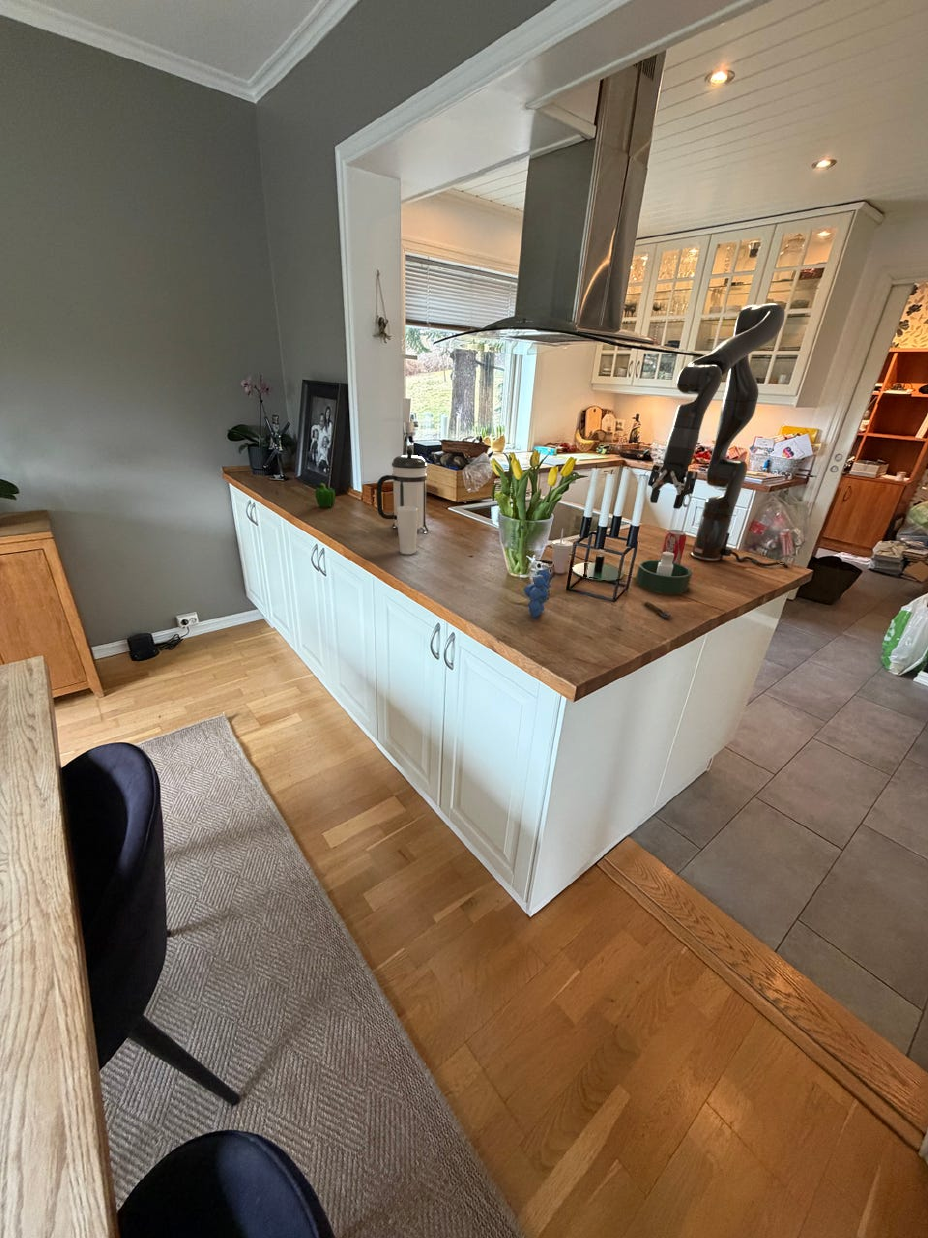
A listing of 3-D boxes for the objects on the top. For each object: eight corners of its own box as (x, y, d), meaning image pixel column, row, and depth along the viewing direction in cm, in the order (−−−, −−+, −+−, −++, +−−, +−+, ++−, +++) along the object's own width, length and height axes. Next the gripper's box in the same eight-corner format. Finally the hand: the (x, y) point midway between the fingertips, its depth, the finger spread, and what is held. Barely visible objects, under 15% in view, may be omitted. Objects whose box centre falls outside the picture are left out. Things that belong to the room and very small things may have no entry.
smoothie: (544, 570, 153) (549, 526, 147) (562, 568, 155) (567, 525, 149) (554, 577, 148) (560, 532, 141) (572, 575, 150) (579, 531, 143)
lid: (610, 565, 159) (613, 547, 157) (632, 583, 146) (636, 564, 143) (565, 566, 157) (567, 547, 154) (582, 584, 143) (585, 564, 141)
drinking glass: (394, 554, 161) (393, 509, 154) (403, 548, 167) (402, 504, 160) (412, 556, 159) (412, 511, 152) (421, 551, 165) (421, 507, 158)
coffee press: (401, 522, 196) (400, 444, 183) (436, 528, 190) (437, 448, 177) (377, 532, 182) (373, 449, 169) (413, 539, 176) (412, 453, 163)
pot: (670, 576, 152) (674, 559, 150) (697, 594, 140) (702, 576, 137) (627, 576, 150) (630, 560, 148) (650, 595, 137) (654, 577, 135)
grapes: (527, 602, 130) (532, 559, 125) (552, 607, 128) (558, 564, 123) (514, 619, 121) (518, 574, 115) (540, 624, 118) (545, 579, 113)
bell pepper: (338, 508, 213) (336, 484, 209) (319, 509, 209) (317, 486, 205) (332, 503, 220) (331, 481, 215) (314, 505, 216) (312, 482, 211)
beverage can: (680, 571, 157) (689, 535, 151) (660, 569, 158) (668, 533, 152) (676, 565, 162) (685, 530, 157) (657, 563, 163) (665, 528, 158)
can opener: (644, 605, 131) (645, 601, 130) (651, 604, 131) (652, 600, 131) (666, 620, 123) (667, 616, 123) (673, 619, 124) (674, 615, 123)
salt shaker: (668, 587, 142) (675, 556, 138) (654, 584, 144) (661, 554, 139) (668, 582, 146) (675, 552, 142) (654, 580, 147) (661, 550, 143)
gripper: (712, 449, 128) (693, 511, 135) (670, 444, 140) (655, 501, 146) (692, 447, 125) (674, 510, 131) (651, 442, 137) (637, 500, 143)
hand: (664, 505), depth 139 cm, fingers open, 8 cm apart
